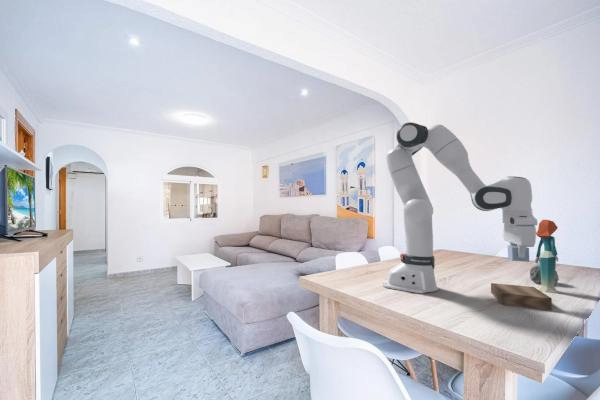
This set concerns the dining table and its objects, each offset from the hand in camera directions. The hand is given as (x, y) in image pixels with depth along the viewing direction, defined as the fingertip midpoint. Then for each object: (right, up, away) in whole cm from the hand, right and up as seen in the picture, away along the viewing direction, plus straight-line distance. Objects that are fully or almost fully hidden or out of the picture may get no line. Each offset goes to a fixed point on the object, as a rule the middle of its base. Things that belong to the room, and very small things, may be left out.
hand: (517, 255), depth 101 cm
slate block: (0, -2, 0) cm, 2 cm away
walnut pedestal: (0, -17, 0) cm, 17 cm away
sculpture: (+22, -17, +12) cm, 31 cm away
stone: (+31, -18, +24) cm, 43 cm away
